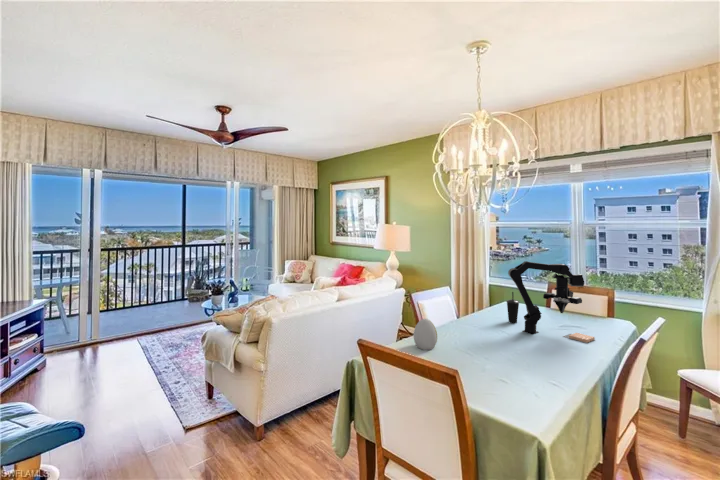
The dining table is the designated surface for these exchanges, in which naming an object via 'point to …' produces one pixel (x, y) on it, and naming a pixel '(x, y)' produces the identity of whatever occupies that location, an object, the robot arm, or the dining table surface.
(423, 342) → the decorative egg
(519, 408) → the dining table surface
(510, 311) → the drinking cup
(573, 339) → the mat
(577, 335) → the tile
